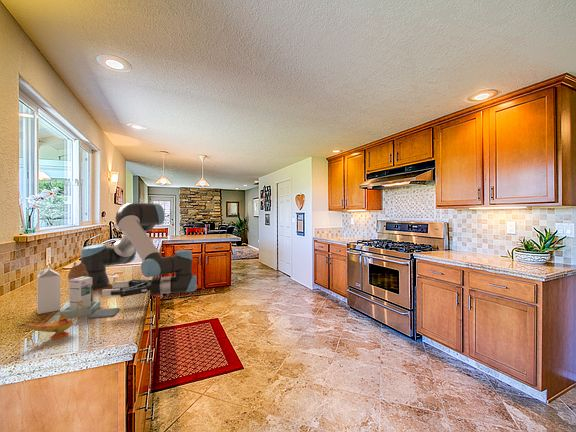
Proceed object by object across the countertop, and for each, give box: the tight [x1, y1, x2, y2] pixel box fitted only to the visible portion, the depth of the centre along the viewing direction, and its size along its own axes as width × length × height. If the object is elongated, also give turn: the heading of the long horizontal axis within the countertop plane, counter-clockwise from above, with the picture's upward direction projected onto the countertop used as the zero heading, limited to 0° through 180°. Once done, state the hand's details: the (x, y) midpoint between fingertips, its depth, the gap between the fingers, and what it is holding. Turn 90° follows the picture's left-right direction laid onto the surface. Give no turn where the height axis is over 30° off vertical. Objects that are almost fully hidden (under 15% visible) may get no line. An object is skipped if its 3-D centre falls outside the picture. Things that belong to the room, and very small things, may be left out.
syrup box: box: [68, 277, 94, 310], centre depth 116 cm, size 6×6×14 cm
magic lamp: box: [16, 299, 86, 340], centre depth 92 cm, size 7×18×11 cm, turn 141°
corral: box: [59, 300, 101, 318], centre depth 116 cm, size 11×11×2 cm
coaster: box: [86, 307, 121, 320], centre depth 114 cm, size 9×9×1 cm
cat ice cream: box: [67, 261, 88, 282], centre depth 132 cm, size 9×8×18 cm
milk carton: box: [36, 264, 61, 315], centre depth 117 cm, size 7×7×19 cm
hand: (107, 288), depth 119 cm, fingers open, 13 cm apart
